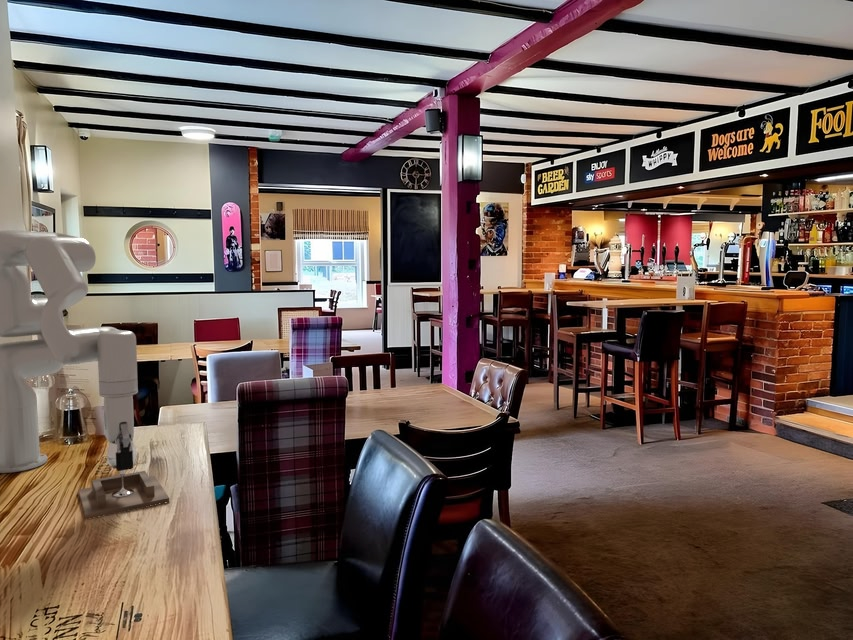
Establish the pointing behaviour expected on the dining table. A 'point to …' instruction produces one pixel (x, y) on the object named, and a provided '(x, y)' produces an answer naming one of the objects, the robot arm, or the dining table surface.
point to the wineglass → (112, 462)
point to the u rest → (103, 503)
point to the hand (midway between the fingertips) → (121, 462)
